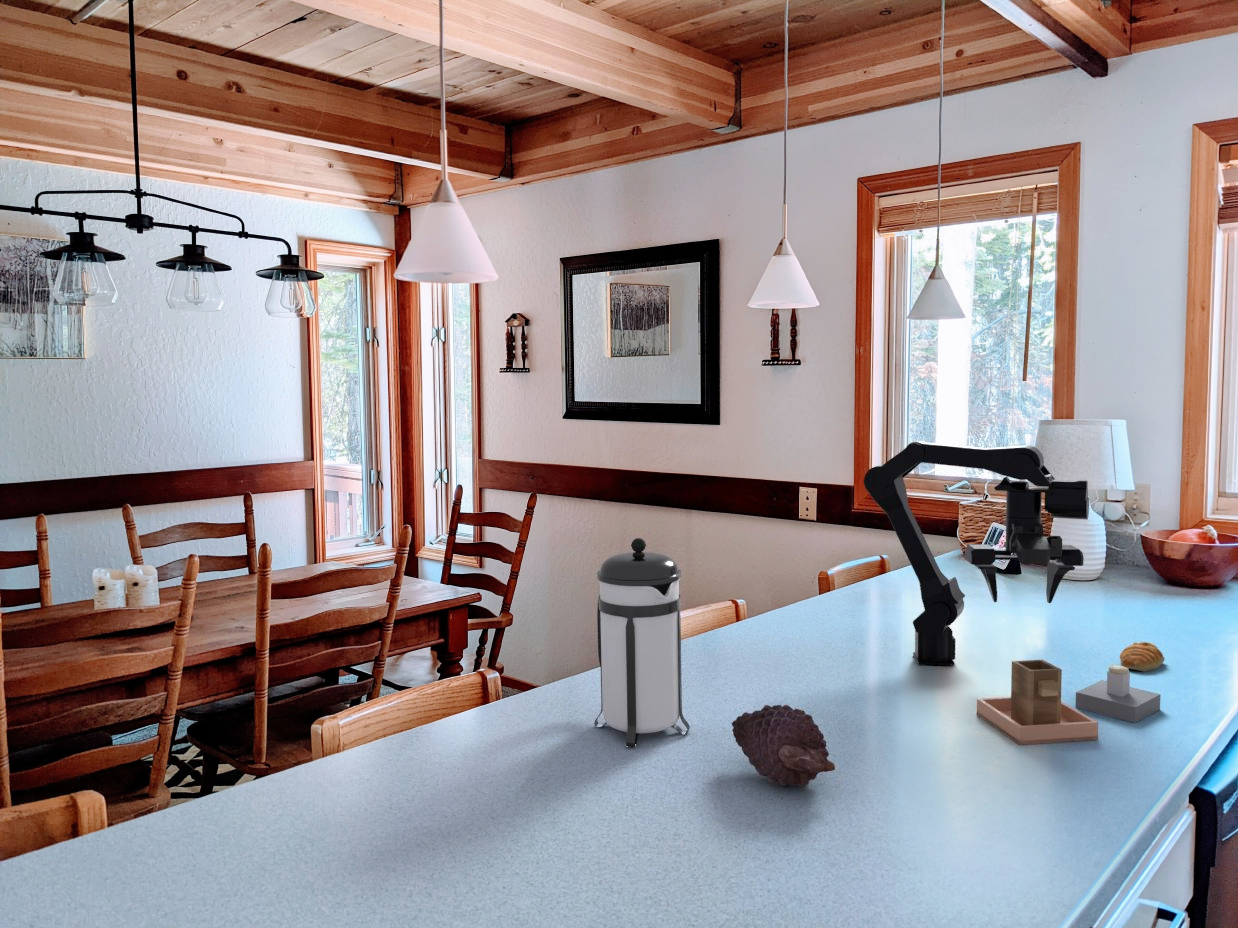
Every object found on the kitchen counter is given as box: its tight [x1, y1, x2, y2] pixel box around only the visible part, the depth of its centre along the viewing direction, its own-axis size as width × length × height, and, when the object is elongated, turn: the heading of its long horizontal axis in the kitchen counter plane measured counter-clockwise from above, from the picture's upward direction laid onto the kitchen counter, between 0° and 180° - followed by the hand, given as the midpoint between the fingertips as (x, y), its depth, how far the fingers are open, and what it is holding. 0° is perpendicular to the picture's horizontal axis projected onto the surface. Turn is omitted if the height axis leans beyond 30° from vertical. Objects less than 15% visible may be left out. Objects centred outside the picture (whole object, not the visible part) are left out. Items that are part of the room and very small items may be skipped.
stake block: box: [1075, 664, 1161, 724], centre depth 142 cm, size 9×9×7 cm
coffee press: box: [593, 537, 691, 748], centre depth 137 cm, size 17×16×30 cm
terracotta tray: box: [976, 696, 1099, 746], centre depth 136 cm, size 12×12×3 cm
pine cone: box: [731, 704, 836, 787], centre depth 119 cm, size 18×10×10 cm, turn 34°
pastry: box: [1119, 641, 1166, 673], centre depth 164 cm, size 9×7×4 cm
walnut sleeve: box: [1010, 659, 1063, 726], centre depth 135 cm, size 6×5×9 cm
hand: (1021, 602), depth 160 cm, fingers open, 9 cm apart
